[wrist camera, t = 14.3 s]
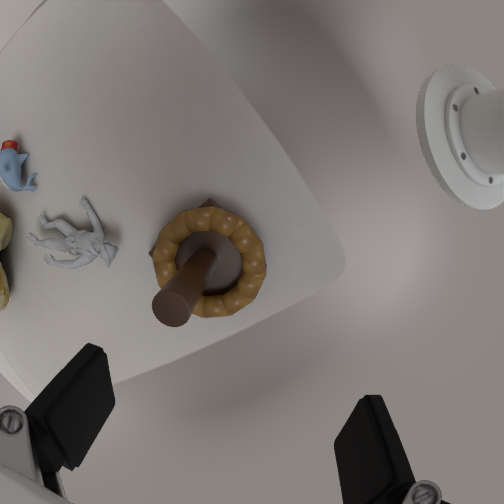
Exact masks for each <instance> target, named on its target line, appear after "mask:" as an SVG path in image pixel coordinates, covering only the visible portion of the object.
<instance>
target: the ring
mask: <svg viewBox="0 0 504 504" xmlns="http://www.w3.org/2000/svg"><path fill="white" fill-rule="evenodd" d="M210 230H211V231H213V232H216V233H218V234H220V235H223V236H225V237H228V238H229V239H230V240H231V242H232V243H233V244H234V245H235V247H236V248H237V249H238V250H239V252H240V255H241V261H242V268H243V271H242V273H241V276H240V278H239V280H238V283H237V285H236V286H235V287H233V288H232V289H230V290H229V291H227V292H226V293H225V294H223V295H213V296H205V295H201V297H200V299H199V300H198V302H197V304H196V306H195V308H194V310H193V312H192V314H195V315H197V316H200V317H203V318H208V317H221V316H230V315H233V314H234V313H236V312H237V311H239V310H240V309H242V308H243V307H245V306H246V305H248V304H249V303H251V302H252V301H253V300H254V299H255V298H256V296H257V293H258V291H259V289H260V287H261V285H262V283H263V280H264V278H265V276H266V264H265V256H264V249H263V244H262V241H261V240H260V239H259V237H258V236H257V235H256V234H255V232H254V231H253V230H252V228H251V227H250V226H249V225H248V223H247V222H246V221H245V220H244V219H243V218H242V217H240V216H237V215H235V214H232V213H230V212H228V211H225V210H223V209H220V208H218V207H214V206H210V207H203V208H197V209H191V210H185V211H182V212H181V213H180V214H179V215H177V216H176V217H175V218H174V219H173V220H172V221H171V222H169V223H168V224H167V225H166V226H165V227H164V228H163V229H162V230H161V231H160V234H159V237H158V240H157V243H156V247H155V250H154V254H153V264H154V268H155V272H156V276H157V281H158V284H159V286H160V288H161V289H162V288H163V286H164V285H165V284H166V283H167V282H168V281H169V280H170V279H171V278H172V276H173V275H174V274H175V273H176V272H177V268H176V263H175V256H176V253H177V250H178V247H179V244H180V243H181V242H182V241H183V240H185V239H186V238H187V237H188V236H189V235H191V234H192V233H195V232H202V231H210Z"/></svg>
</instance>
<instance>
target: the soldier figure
mask: <svg viewBox="0 0 504 504" xmlns="http://www.w3.org/2000/svg"><path fill="white" fill-rule="evenodd" d="M81 200H82V201H83V202H82V201H81ZM81 200H80V202H82V203H79V204H81V205H82V206H83V207H84V208H85V209H86V210H87V214H88V216H89V218H90V221H91V224H92V226H93V232H94V233H93V232H89V231H86V230H77V229H75V228H74V227H72V226H71V225H70V224H69V223H67V222H65V221H64V220H63V219H58V218H56V219H55V220H54V221H52V222H49V223H48V222H47V220H46V218H45V217H44V216H42V215H40V216H39V221H40V223H42V224H43V226H44V228H45V230H49V229H57V228H58V229H59V231H61V232H63V234H64V235H65V236H66V238H47V239H44V240H39V239H38V238H37V237H36V236H35V235H34V234H33V233H29V234H28V238H29V240H31V241H33V242H34V243H35V245H36V246H42V247H44V248H46V247H47V248H49V249H55V250H59V251H64V252H69V253H70V254H73V255H79V254H81V255H80V256H79V257H77V258H76V259H75V260H59V261H57V260H55V258H54V257H53V256H52V255H51V257H52V258H49V257H47V256H46V255H45V257H44V260H45V262H46V263H48V264H50V265H53V266H57V267H61V268H71V269H72V268H73V269H75V268H78V267H81V266H82V265H86V264H88V263H91V262H92V261H93V259H94V258H95V257H97V256H98V254H100V253H101V254H102V256H101V255H100V256H101V257H100V258H102V259H104V260H105V262H106V264H107V267H108V268H109V267H110V265H111V263H112V261H113V260H114V258H115V256H116V253H117V251H118V249H119V248H118V245H116V246H114V245H112V244H111V243H110V242H108V241H104V233H103V231H102V227H101V225H100V222H99V220H98V218H97V216H96V214H95V213H94V211H93V210H92V208H91V207H90V206H89V204H88V202H87V201H86V200H85V199H83V198H82V199H81ZM47 228H48V229H47ZM47 258H48V259H47Z"/></svg>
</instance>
